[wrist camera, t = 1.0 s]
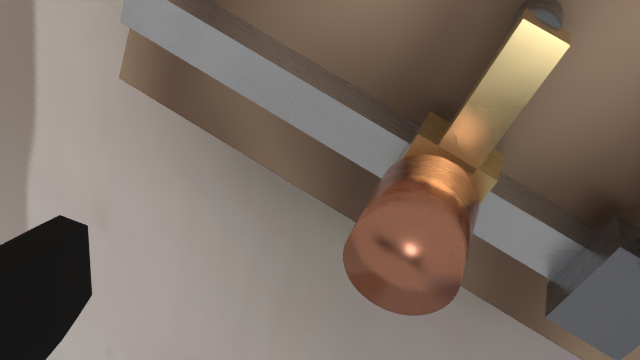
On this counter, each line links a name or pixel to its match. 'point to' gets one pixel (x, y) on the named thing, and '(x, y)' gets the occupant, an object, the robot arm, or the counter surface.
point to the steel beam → (346, 119)
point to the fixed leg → (601, 291)
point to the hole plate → (440, 112)
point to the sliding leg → (449, 177)
